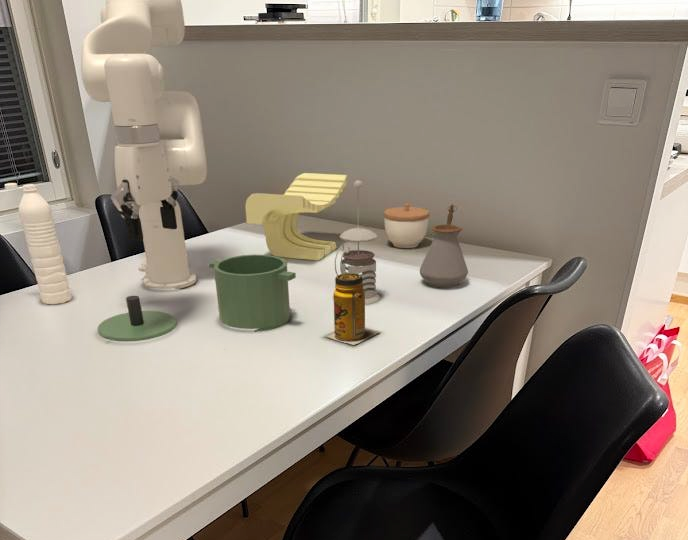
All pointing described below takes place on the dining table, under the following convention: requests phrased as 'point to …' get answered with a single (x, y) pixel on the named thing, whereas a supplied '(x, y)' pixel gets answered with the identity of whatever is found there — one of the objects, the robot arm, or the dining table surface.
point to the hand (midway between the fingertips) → (153, 233)
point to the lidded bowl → (406, 225)
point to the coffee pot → (444, 257)
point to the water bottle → (43, 245)
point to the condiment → (350, 310)
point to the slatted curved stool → (295, 214)
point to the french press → (360, 257)
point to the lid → (136, 323)
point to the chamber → (253, 291)
